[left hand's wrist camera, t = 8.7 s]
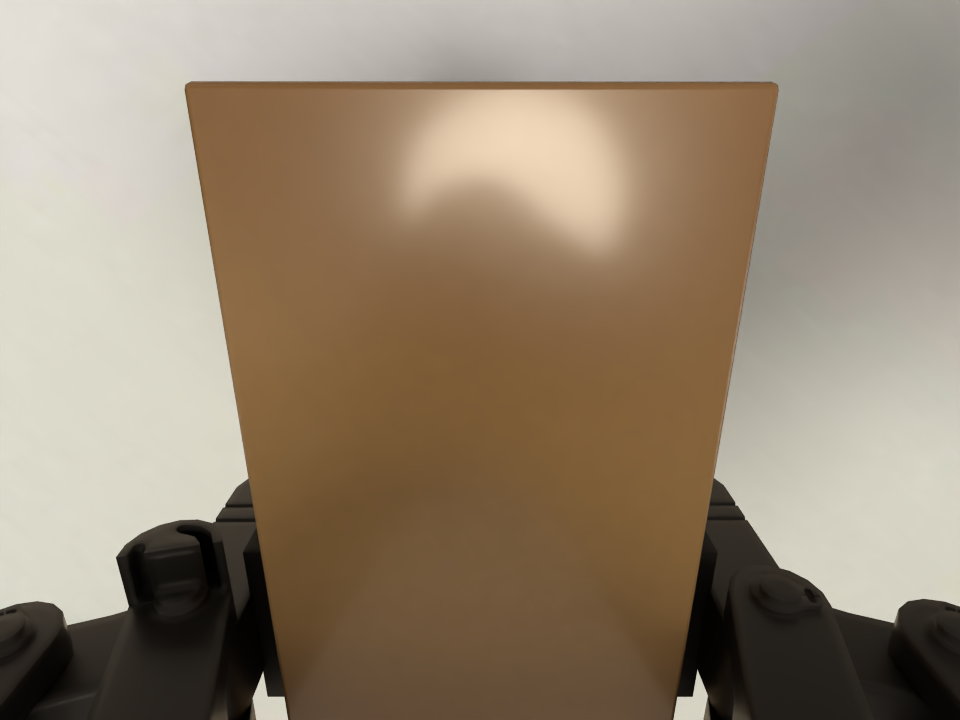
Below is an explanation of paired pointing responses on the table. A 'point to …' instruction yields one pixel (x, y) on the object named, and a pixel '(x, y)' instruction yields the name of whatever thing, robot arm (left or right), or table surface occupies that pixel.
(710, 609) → the left robot arm
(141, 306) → the table surface
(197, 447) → the table surface
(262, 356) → the bar
